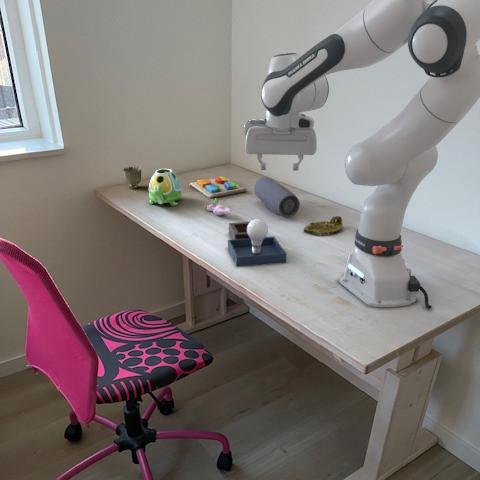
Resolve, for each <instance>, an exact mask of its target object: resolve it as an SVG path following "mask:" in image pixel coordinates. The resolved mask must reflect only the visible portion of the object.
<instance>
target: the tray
mask: <svg viewBox="0 0 480 480" xmlns="http://www.w3.org/2000/svg"><path fill="white" fill-rule="evenodd" d="M227 250H228V252H229V254H230V256H231V258H232V260H233V262H234V265H235V266H236V267H248V266H260V265H274V264H275V265H276V264H286V263H287V252H286V251H285V249H284V248H283V246H282V245H281V244H280V242H279V241H278V239H277V238H276V237H275V236H266V237H265V238H264V239H263V241H262V244H261V252H260V253H258V254H254V253H253V252H252V243H251V239H250V238H248V239H234V240H232V239H227Z"/></svg>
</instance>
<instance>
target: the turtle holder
mask: <svg viewBox="0 0 480 480" xmlns="http://www.w3.org/2000/svg"><path fill="white" fill-rule="evenodd" d="M148 197H149V199H150V200H149V201H148V203H149V204H150V205H154V203H158V204H159V205H164V204H166V203H169V204H170V206H172V207H176V206H178V205H179V202H176V201H180V200H181V198H182V185H181V182H180V180H179V178H178V176H177V174H176V173H175V172H174V171H173V169H171V168H159V169H156V170H155V172H154V173H153V175H152V176H151V178H150V180H149V185H148Z"/></svg>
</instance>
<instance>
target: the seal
mask: <svg viewBox="0 0 480 480" xmlns="http://www.w3.org/2000/svg"><path fill="white" fill-rule="evenodd" d="M343 225H344V224H343V219H342V217H341V215H340V216H339V215H338V216H336V215H335V216H332V217H331V219H330V221H325V220H324V221H317V222H310V223H309V224H307V225H306V226H305V227H304V228H303V232H304V233H308V234H311V235H312V236H313V235H314V236H330V235H334V234H337V233H340V232H342V230H343V227H344V226H343Z"/></svg>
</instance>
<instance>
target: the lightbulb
mask: <svg viewBox="0 0 480 480" xmlns="http://www.w3.org/2000/svg"><path fill="white" fill-rule="evenodd" d="M249 222H250V223H249V224H248V226H247V233H248V236H249V237H250V239H251V243H252V252H253V253H254V254H258V253H260V252H261V244H262V241H263V239H264V238H265V237H267V235H268V232H269V227H268V224H267V223H266V221H264V220H263V219H261V218H254V219H252V220H250V221H249Z"/></svg>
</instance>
